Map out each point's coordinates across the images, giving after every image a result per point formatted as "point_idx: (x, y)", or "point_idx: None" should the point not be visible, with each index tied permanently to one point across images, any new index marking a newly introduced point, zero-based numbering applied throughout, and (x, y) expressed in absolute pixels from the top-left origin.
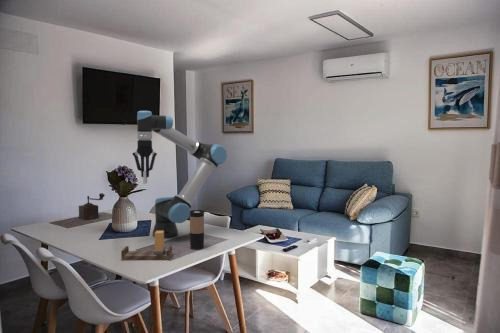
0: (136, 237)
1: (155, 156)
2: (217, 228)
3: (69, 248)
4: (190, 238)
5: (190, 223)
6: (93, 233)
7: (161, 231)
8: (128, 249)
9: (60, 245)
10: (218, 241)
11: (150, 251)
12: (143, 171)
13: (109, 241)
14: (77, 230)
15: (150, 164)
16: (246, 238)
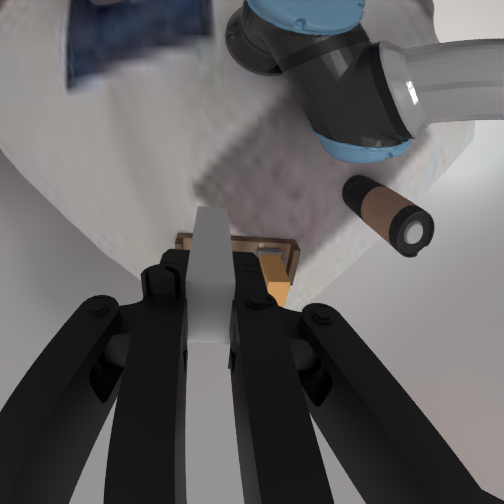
0: (171, 58)
1: (479, 497)
2: (418, 26)
3: (32, 177)
4: (354, 207)
5: (376, 227)
6: (44, 36)
7: (283, 290)
8: (182, 241)
9: (9, 155)
10: (410, 149)
11: (242, 246)
12: (187, 330)
13: (97, 106)
14: (11, 25)
15: (324, 432)
16: (459, 144)
